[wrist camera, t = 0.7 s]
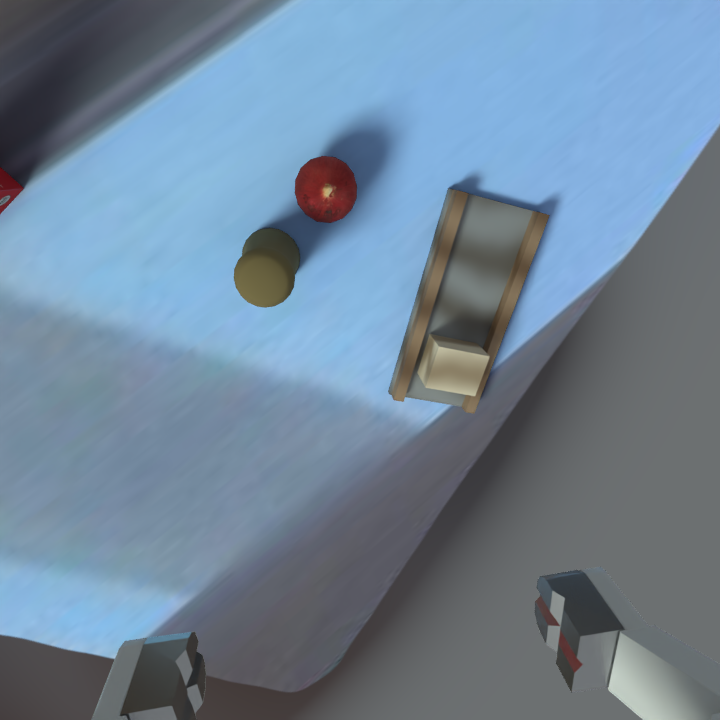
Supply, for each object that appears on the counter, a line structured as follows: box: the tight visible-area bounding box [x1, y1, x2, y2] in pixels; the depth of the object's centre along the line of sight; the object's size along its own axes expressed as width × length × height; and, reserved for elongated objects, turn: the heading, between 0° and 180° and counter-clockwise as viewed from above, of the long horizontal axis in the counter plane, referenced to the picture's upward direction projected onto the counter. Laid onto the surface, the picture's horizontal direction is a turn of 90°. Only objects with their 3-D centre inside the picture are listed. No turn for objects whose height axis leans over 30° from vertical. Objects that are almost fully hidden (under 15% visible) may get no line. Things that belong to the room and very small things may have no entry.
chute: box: [388, 188, 549, 413], centre depth 52 cm, size 24×11×2 cm, turn 166°
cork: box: [234, 228, 300, 307], centre depth 44 cm, size 6×6×11 cm
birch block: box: [417, 334, 490, 396], centre depth 53 cm, size 5×6×4 cm
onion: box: [295, 156, 357, 223], centre depth 43 cm, size 6×6×8 cm
